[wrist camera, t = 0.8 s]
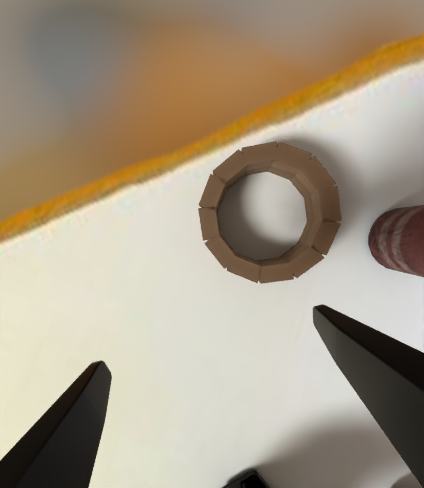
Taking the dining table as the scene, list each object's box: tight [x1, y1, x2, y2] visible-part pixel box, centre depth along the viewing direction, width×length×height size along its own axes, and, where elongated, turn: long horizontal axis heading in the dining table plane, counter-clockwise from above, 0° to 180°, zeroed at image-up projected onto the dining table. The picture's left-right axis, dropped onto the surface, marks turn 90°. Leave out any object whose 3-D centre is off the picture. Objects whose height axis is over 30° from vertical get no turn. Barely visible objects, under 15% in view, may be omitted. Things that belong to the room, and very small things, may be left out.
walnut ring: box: [198, 142, 341, 283], centre depth 20 cm, size 12×12×4 cm
